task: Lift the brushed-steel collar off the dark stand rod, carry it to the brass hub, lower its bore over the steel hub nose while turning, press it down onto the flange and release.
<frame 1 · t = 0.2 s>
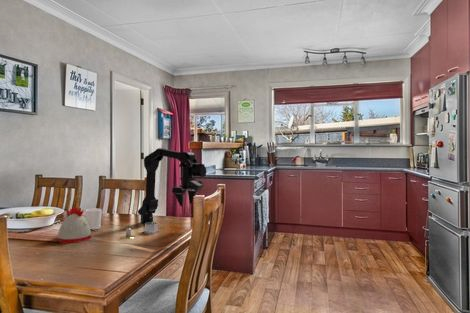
hand: (186, 204, 160), 14 cm above the table, fingers open, 9 cm apart
stand: (150, 233, 154), on the table
white cup: (93, 228, 162), on the table
chicken hat: (74, 238, 143), on the table
collar: (150, 232, 154), point 1 cm above the table, touching stand
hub: (128, 239, 144), on the table
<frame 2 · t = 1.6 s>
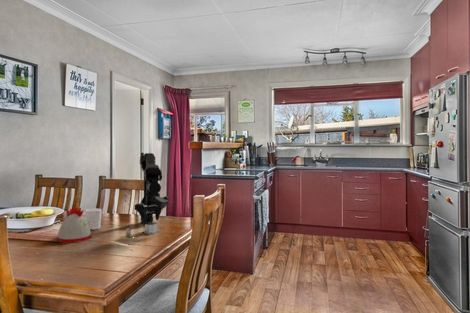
hand: (151, 221, 154), 6 cm above the table, fingers open, 9 cm apart
nothing on the table moved.
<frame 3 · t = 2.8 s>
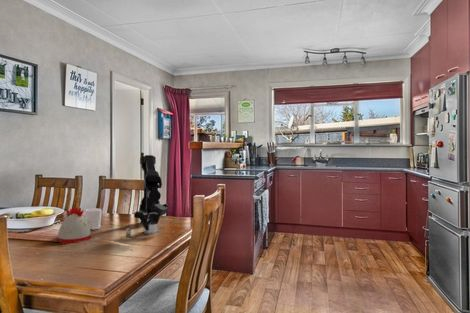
hand: (151, 229, 154), 3 cm above the table, fingers closed on collar, 6 cm apart
collar: (150, 232, 154), point 1 cm above the table, touching gripper, stand
everything else where it was.
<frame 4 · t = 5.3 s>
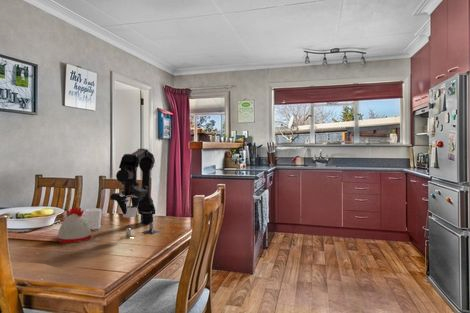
hand: (129, 212, 144), 13 cm above the table, fingers closed on collar, 6 cm apart
collar: (129, 216, 144), point 11 cm above the table, touching gripper
everything else where it was.
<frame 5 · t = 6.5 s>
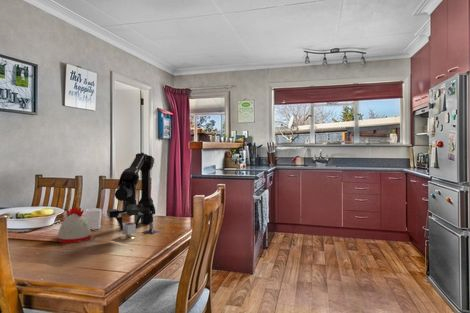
hand: (128, 229, 144), 4 cm above the table, fingers closed on collar, 6 cm apart
collar: (128, 233, 144), point 3 cm above the table, touching gripper
everything else where it was.
when the fingers open (4 cm above the table, at t = 7.7 s): collar drops 1 cm, resting on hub.
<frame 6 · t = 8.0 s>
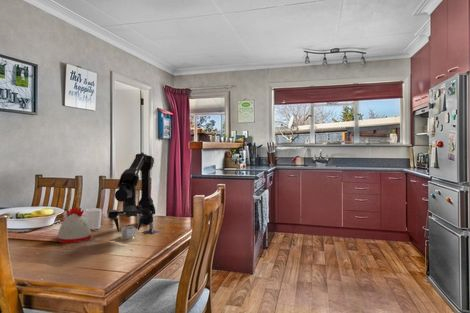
hand: (128, 230, 144), 4 cm above the table, fingers open, 9 cm apart
collar: (128, 237, 144), point 1 cm above the table, touching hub
everything else where it was.
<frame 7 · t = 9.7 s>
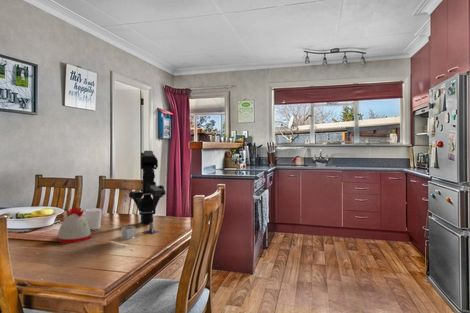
hand: (147, 209, 155), 12 cm above the table, fingers open, 9 cm apart
nothing on the table moved.
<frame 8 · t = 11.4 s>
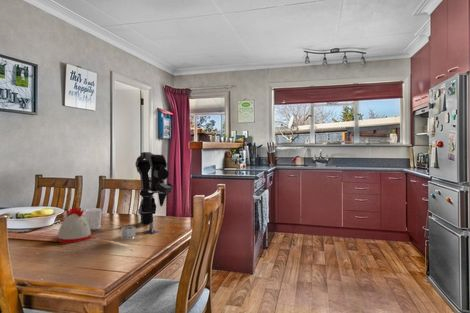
hand: (155, 207, 160), 13 cm above the table, fingers open, 9 cm apart
nothing on the table moved.
at the end: collar 0.0 cm off-centre on the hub, point 1.0 cm above the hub's base; the gripper is holding nothing; collar tilted 0° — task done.
